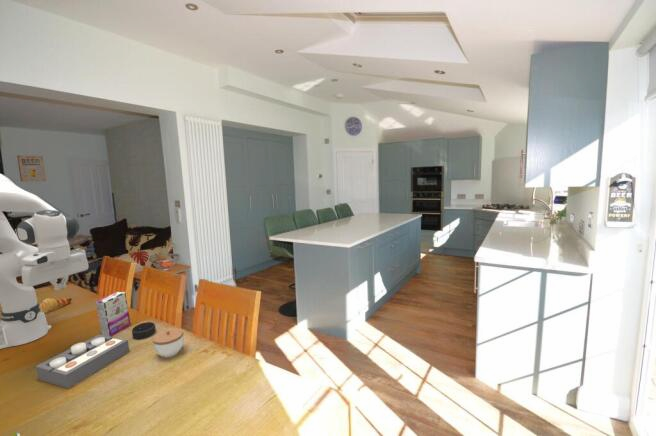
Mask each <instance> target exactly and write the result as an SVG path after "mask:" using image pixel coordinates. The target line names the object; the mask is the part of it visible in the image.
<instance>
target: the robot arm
mask: <svg viewBox="0 0 656 436" xmlns="http://www.w3.org/2000/svg"><path fill="white" fill-rule="evenodd" d="M4 212H9V213H10V212H12V213H14V212H15V213H16V212H18V213H19V212H20V213H31V214H33V216H32V217H31V218H28V219H26V220H22V221H21V222H19V224H18V225H17V226H16V232H15V230H14V229H13V227H12V225H11V224H10V222H9V221H8V218H7V217H6V215H5V214H4ZM79 231H80V223H79V221H78V219H76V218H75V217H74V216H72V215H71V214H69V213H66V212H64V211H62V210H61V209H59V208H58V207H57V206H55V205H54V204H52V203H50V202H49V201H48V200H46V199H45V198H43V197H41V196H39V195H37V194H34V193H32V192H29V191H27V190H24V189H23V188H21V187H20V186H18V184H17V182H16V181H15V180H13V179H12V178H11V177H7V176H5V175H4V174H2V173H0V252H1V253H0V307H1V311H0V350H2V349H6V348H11V347H16V346H20V345H21V346H22V345H25V344H28V343H31V342H33V341H36V340H39V339H40V338H42V337H44V336H46V335H47V334H48V332H49V331H50V330H51V329H52V328H53V327H52V325H50V324H48V321H47V319H46V318H47V317H46V315H45V314H46V313H45V314H44V313H43V312H40V305H39V303H40V302H38V298H37V293H36V289H35V288H34V286H35V287H36V286H39V285H41V284H45V283H48V282H49V283H50V284H51V285H52V286H53V287H54V291H60V290H63V289H66V288H67V283H68V280H69V276H71V275H75V274H78V273H82V272H85V271H87V270H89V268H90V267H89V261H88V258H87V253H86V250H85V249H83V248H81V247H79V248H76V249H75V248H74V249H71V248H70V246H71V245H70V242H69V240H71V239H73V238H75V236H76V235H77V234H78V232H79ZM34 245H37V247H36V246H34ZM18 277H21V281H22V283H20V282H18V281H17V278H18ZM58 279H61V282H60V283H57V282H58Z"/></svg>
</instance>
